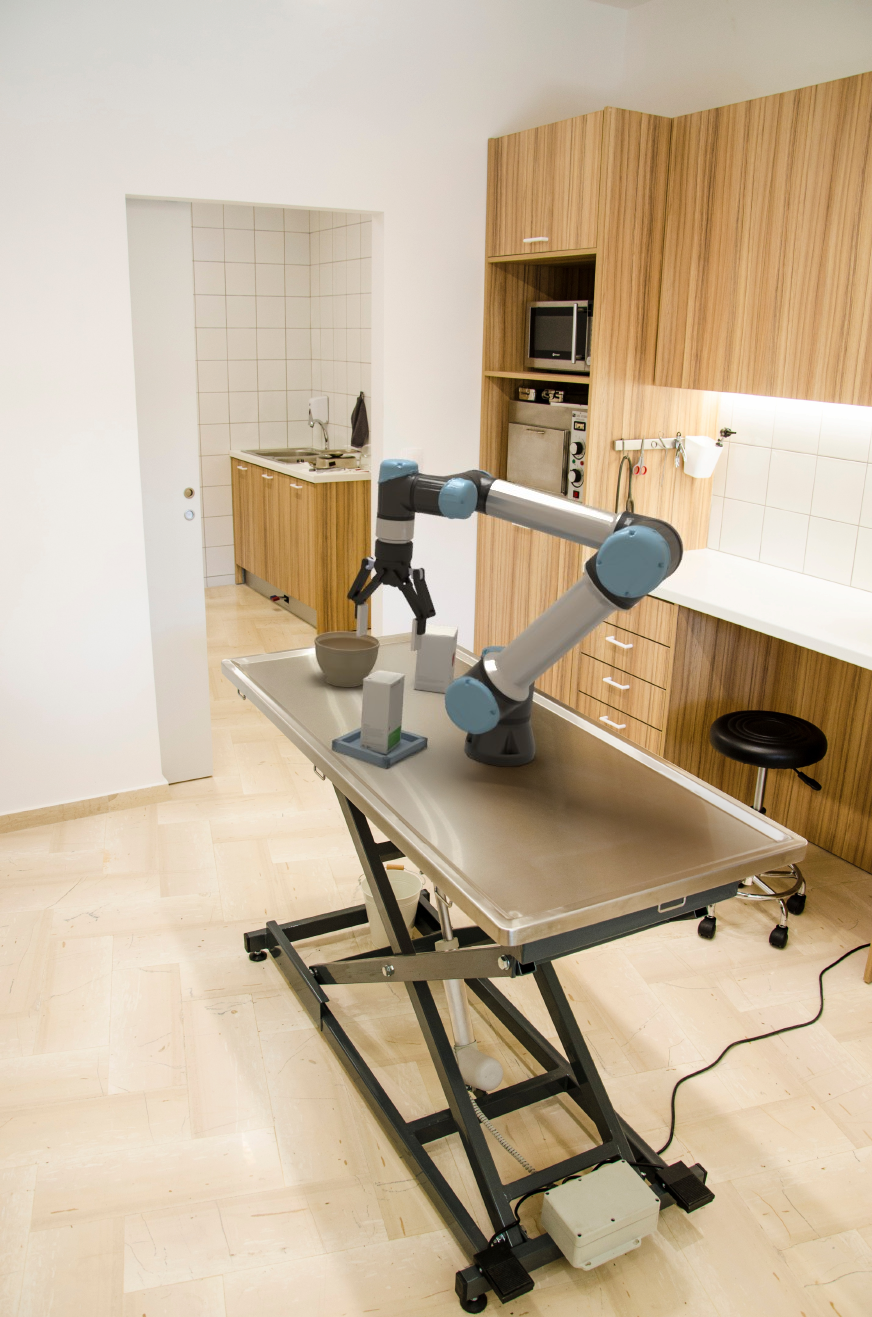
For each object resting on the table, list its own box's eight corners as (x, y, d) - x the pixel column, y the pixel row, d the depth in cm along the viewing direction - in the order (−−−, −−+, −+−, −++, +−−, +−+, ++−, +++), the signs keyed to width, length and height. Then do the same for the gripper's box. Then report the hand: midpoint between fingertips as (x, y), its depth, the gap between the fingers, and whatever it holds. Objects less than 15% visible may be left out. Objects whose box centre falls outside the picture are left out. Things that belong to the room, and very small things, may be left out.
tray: (427, 747, 211) (427, 738, 211) (386, 769, 199) (386, 759, 198) (374, 729, 218) (374, 720, 217) (331, 749, 206) (332, 740, 205)
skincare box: (386, 756, 204) (390, 685, 199) (357, 749, 206) (361, 678, 201) (401, 742, 211) (406, 673, 206) (373, 735, 213) (377, 667, 208)
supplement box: (449, 694, 243) (454, 636, 239) (413, 690, 245) (417, 632, 240) (454, 682, 252) (459, 626, 247) (419, 678, 253) (424, 622, 248)
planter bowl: (385, 676, 252) (388, 636, 249) (365, 696, 237) (368, 653, 234) (326, 667, 256) (328, 627, 252) (302, 686, 241) (304, 643, 237)
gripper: (458, 547, 191) (449, 651, 198) (355, 527, 204) (350, 625, 210) (437, 552, 185) (429, 659, 192) (332, 531, 198) (328, 632, 204)
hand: (388, 642), depth 201 cm, fingers open, 13 cm apart
